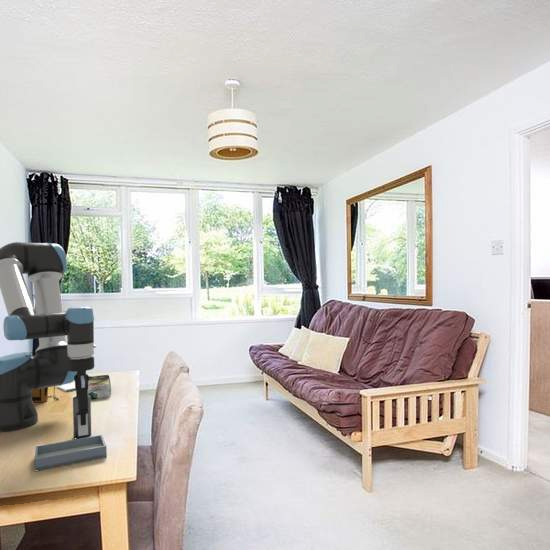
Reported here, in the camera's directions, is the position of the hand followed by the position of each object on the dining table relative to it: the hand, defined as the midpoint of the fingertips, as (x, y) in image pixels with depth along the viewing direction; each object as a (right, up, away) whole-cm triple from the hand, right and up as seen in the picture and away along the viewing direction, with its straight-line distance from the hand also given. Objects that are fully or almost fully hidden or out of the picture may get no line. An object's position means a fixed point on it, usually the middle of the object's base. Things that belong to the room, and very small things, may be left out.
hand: (82, 432), depth 135 cm
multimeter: (-35, -3, +43) cm, 56 cm away
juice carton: (-16, -2, +52) cm, 54 cm away
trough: (+4, -1, -16) cm, 17 cm away
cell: (0, -1, 0) cm, 1 cm away
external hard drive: (-33, -3, +62) cm, 70 cm away
